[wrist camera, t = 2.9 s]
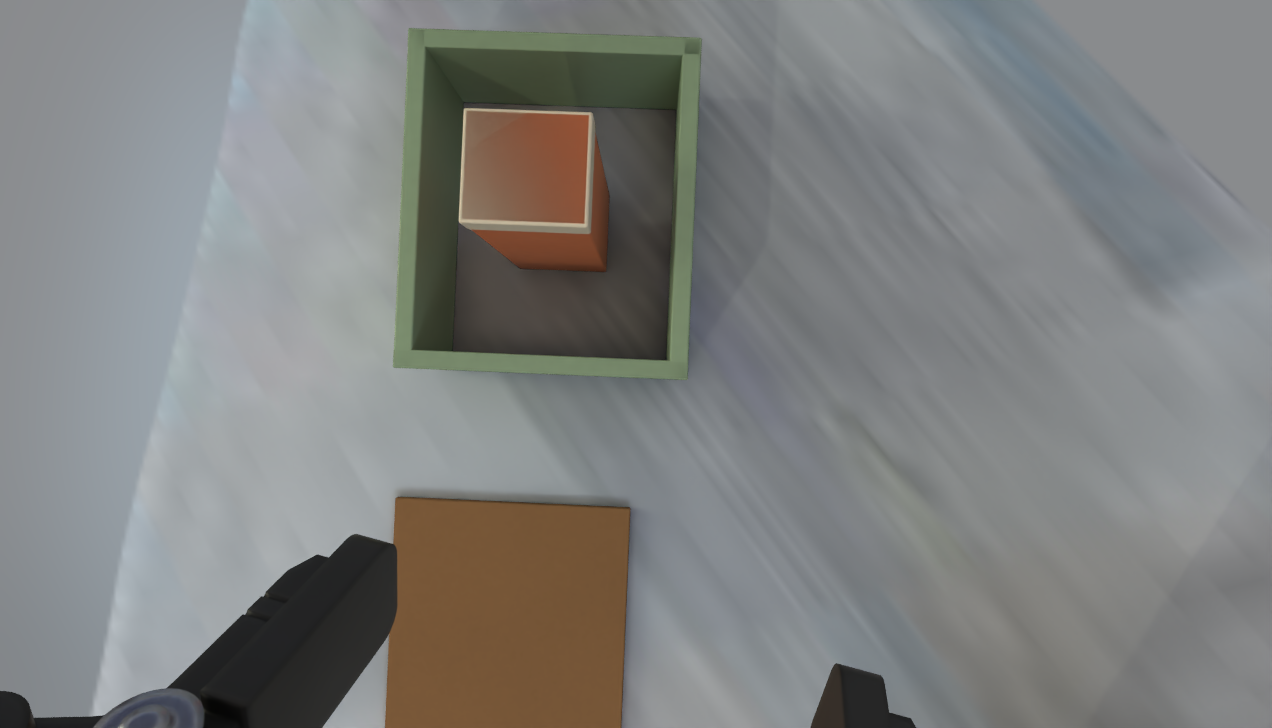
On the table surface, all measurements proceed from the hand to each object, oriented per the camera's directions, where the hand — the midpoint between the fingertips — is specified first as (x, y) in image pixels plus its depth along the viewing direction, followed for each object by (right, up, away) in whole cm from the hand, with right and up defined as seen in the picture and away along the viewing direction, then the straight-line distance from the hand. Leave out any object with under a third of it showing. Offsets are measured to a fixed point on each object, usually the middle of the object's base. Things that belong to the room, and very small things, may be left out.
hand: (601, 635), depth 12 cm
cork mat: (-6, -8, +22) cm, 25 cm away
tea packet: (-3, +12, +23) cm, 26 cm away
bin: (-3, +12, +23) cm, 26 cm away
